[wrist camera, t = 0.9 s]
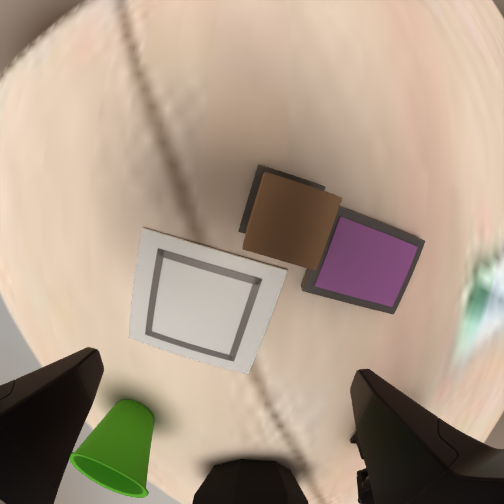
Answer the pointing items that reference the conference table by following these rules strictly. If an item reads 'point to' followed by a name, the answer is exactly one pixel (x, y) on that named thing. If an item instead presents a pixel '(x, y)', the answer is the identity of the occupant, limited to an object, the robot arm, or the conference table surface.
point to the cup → (118, 450)
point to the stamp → (288, 218)
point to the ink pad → (364, 263)
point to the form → (201, 301)
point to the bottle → (250, 484)
